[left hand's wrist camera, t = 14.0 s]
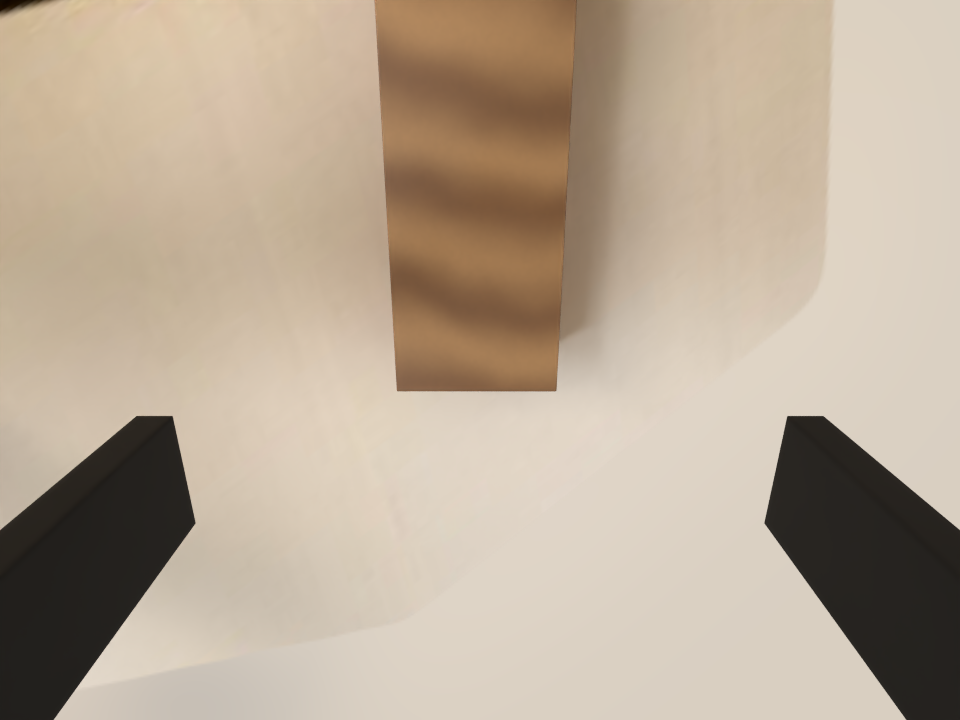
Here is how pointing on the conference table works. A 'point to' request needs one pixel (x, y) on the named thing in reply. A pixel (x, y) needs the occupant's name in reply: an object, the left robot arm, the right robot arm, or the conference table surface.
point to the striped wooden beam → (476, 187)
